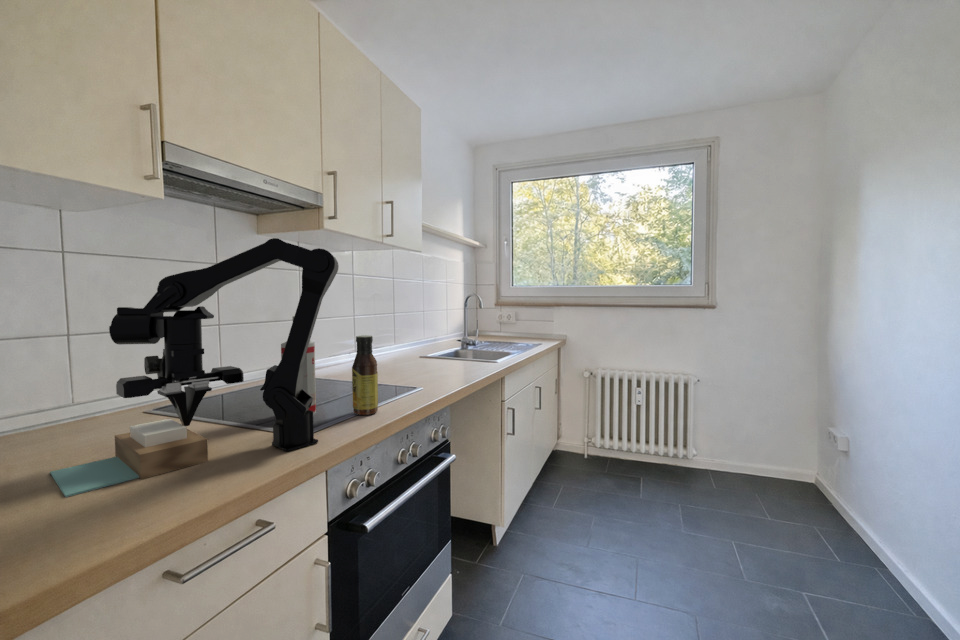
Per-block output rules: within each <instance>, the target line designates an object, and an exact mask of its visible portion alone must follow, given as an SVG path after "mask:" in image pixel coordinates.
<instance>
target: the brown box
mask: <svg viewBox="0 0 960 640" xmlns="http://www.w3.org/2000/svg"><path fill="white" fill-rule="evenodd" d="M208 446H209V445H208V438H206V437H204V436H202V435H200V434H198V433H196V432H195V431H192V430H190V429H188V428H187V438H185V439H181V440H176V441H172V442H168V443H163V444H159V445H154V446H150V447H144V446H142V445H141V444H140V443H138V442H137V441H135V440H134V439H133V438H131V437H130V432H126V433H121V434H120V433H119V434H116V435H114V450H115V451H114V453H115V456H114V457H118V458H119V459H120V460H122V461H123V462H124V463H125V464H126V465H127V466H128V467H130V468H131V469H132V470H133V471H134V472H135V473H136V474H138V475H139V478H138V479H140V480H144V479H147V478H151V477H155V476H158V475H162V474H166V473H169V472H173V471H177V470H180V469H185V468H187V467H191V466H195V465H199V464H203V463H206V462H209V449H208V448H209V447H208Z"/></svg>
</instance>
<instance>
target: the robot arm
mask: <svg viewBox="0 0 960 640" xmlns="http://www.w3.org/2000/svg"><path fill="white" fill-rule="evenodd" d="M279 262H284V263H287V264H290V265H292V266H296V267H299V268H300V269H302V272H301V294H300V297H299V300H298V304H297V307H296V310H295V313H294V315H293V316H294V320H293V319H292V324H291V327H290V330H289V333H288V337H287V340H286V341H287V343H286V346H285V349H284V353H283V356H282V359H281V358H280V362H279V363H278V365H277V364H274V365H273V366H271V367H269V368H267V369H266V371H265V378H264V383H263V384H262V386H261V388H260V391H261V392H262V391H263V392H262V401H263V402H264V403H265V405H266V407H268V408H269V409H271V410H272V412H273V414H274V423H273V424H272V437H273V441H272V442H271V446H274V447H276V448H278V449H280V450H283V451H285V452H290V451H294V450H297V449H301V448H304V447H307V446H311V445H314V444H317V443H319V439H316V438H314V437H315V436H314V416H313V411H310V410H308V409H309V408H310V407H311V404H312V401H313V397H311V396H310V395H309V394H308V393H307V392H305V391H304V390H303V389H302V382H303V362H304V358H305V355H306V352H307V348H308V345H309V342H310V341H311V339H312V338H311V337H312V334H313V331H314V329H315V325H316V321H317V318H318V315H319V311H320V308H321V305H322V303H323V299H324V297H325V295H326V293H327V292H328V291H329V288H330V287H331V285H332V283H333V282H334V279H335V278H336V275H337V274H338V271H339V266H340V265H339V261H338V259H336V257H335V256H334V255H333V254H332V253H331V252H330V251H328V250H327V249H324V248H320V247H319V248H313V249H308V248H306V247H302V246H299V245H296V244H293V243H289V242H286V241H284V240H282V239H280V238H275V237H273V238H269V239H268V240H266V241H265V242H263V243H261V244H259V245H256V246H254V247H252V248H250V249H247V250H245V251H241V252H240V253H238V254H235V255H234V256H231V257H229V258H226V259H224V260H222V261H219V262H218V263H215V264H212V265H210V266H207V267H205V268H201V269H194V270H188V271H184V272H180V273H176V274H171V275H168V276H165V277H163V278H162V279H161V280H160V281H159V282H158V285H157V288H156V292H155V293H154V295H153V296H152V297H151V298H150V300H149V301H148V302H147V303H146V304H145V305H144V307H140V308H139V307H138V308H137V307H131V306H125V307H123V306H122V307H121V306H120V307H119V306H118V307H117V308H116V314H114V316H113V318H112V320H111V323H110V325H109V327H108V330H109V336H110V338H111V340H112V342H113V343H114V344H116V345H154V344H155V345H156V344H158V343H159V341H160V340H161V339H164V346H163V347H164V348H163V349H162V358H159V355H148V356H145V357H144V361H143V362H144V364H143V365H144V366H143V369H144V373H145V374H146V375H154V374H155V375H157V378H152V377H149V376H146V375H137V376H129V377H120V378H119V379H118V380H117V381H116V384H115V389H116V390H115V391H116V393H115V394H116V395H118V396H119V397H122V398H123V399H132V398H140V397H147V396H150V394H152V393H153V392H154V391H155V390H156V391H157V394H158V395H160V396H163V397H165V398H167V399H168V400H169V401H170V403H171V404H172V405H171V406H173V408H174V411H175V413H176V415H177V417H178V419H179V421H180V424H181V425H183V426H185V427H189V426H190V424H191V423H192V420H193V418H194V416H195V414H196V412H197V409H198V407H199V405H200V403H201V402H202V401H203V399H204V397H205V395H206V394H207V393H208V392H212V390H213V389H212V387H210V386H209V385H210V383H211V382H218V381H223V382H224V383H225V384H227V385H230V384H238V383H243V382H244V371H243V370H242V369H241V368H240V367H237V366H236V367H235V366H232V365H229V366H221V367H219V366H218V367H212V368H211V371H210V372H205V370H206V369H205V370H204V369H203V368H204V367H203V355H204V354H205V348H203V333H202V331H203V329H202V320H210V319H214V318H215V314H213V313H212V312H210V311H208V309H207V308H206V306H203V305H202V306H201V305H200V304H202V303H203V302H204V301H206V300H208V299H209V298H211V297H212V296H213V295H214V294H216V292H218V291H219V290H220V289H222V288H223V287H225V286H226V285H229V284H231V283H234V282H236V281H238V280H240V279H243V278H244V277H247V276H249V275H251V274H253V273H256V272H259V271H261V270H263V269H266V268H267V267H269V266H272V265H275V264H276V263H279ZM198 305H200V306H198ZM196 306H197V307H196ZM190 307H191V308H193V307H196V308H195V309H194V310H193V309H191V310H190V309H188V310H187V309H185V310H183V309H184V308H190ZM174 312H175V313H174ZM164 313H174V314H173V315H164ZM182 386H183V390H182Z"/></svg>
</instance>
